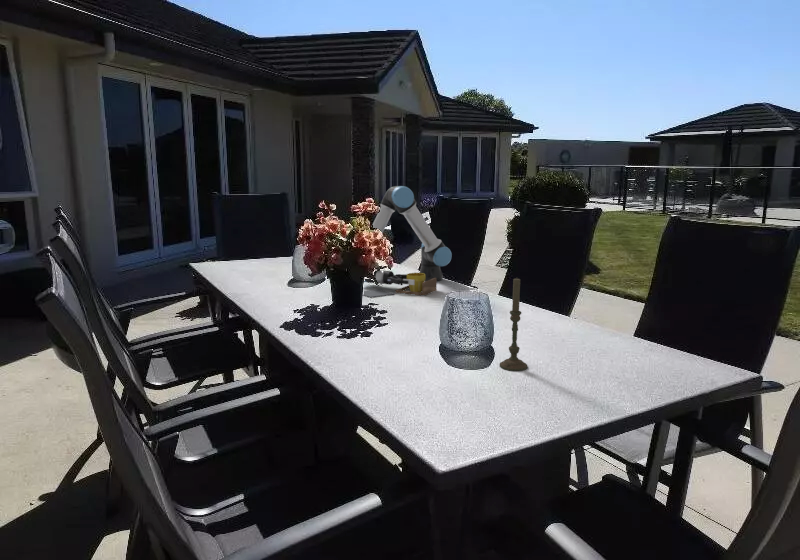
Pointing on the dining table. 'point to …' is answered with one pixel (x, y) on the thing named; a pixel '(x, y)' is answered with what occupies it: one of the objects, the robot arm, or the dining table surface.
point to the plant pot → (416, 281)
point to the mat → (377, 293)
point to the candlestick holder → (514, 333)
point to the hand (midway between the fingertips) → (419, 280)
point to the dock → (426, 288)
